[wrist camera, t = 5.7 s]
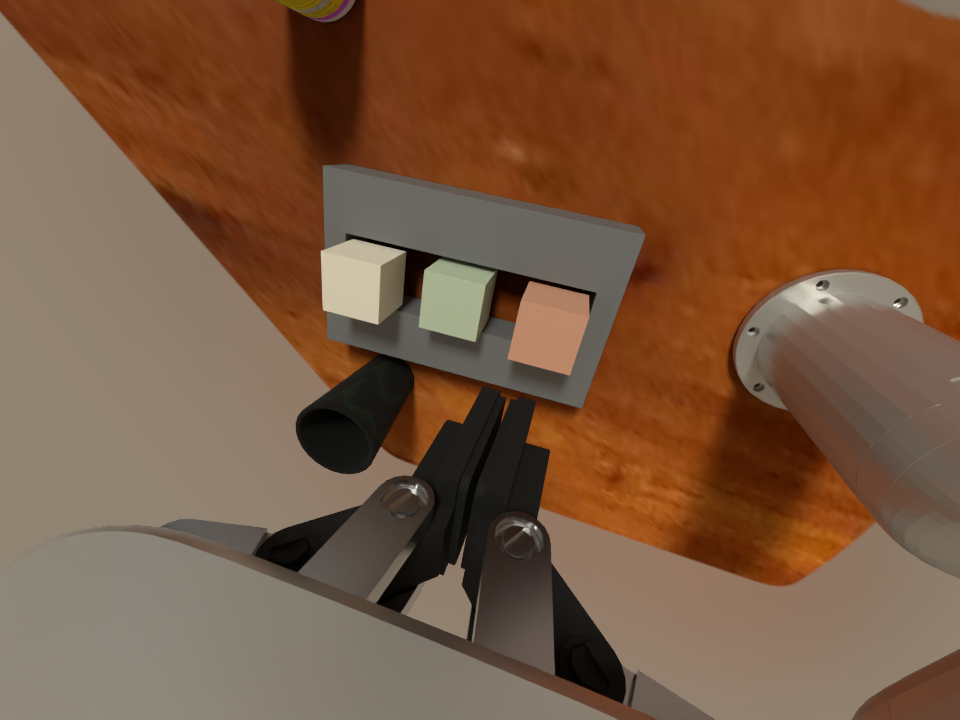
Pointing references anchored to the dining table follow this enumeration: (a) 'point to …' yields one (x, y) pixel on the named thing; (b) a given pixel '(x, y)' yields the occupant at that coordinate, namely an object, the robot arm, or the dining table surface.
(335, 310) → the cream button
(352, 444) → the cup
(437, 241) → the console
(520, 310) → the terracotta button
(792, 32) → the dining table surface
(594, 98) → the dining table surface
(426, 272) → the green button
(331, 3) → the supplement bottle
